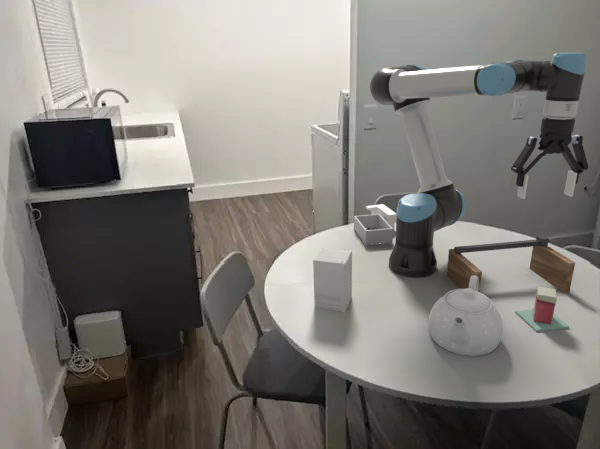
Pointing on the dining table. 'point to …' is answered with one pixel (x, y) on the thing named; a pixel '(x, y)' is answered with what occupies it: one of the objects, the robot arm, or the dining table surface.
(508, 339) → the dining table surface
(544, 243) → the tie bar
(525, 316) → the pad
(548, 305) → the small box
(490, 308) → the teapot
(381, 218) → the box
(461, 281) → the rack
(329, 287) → the supplement box
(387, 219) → the bracket
